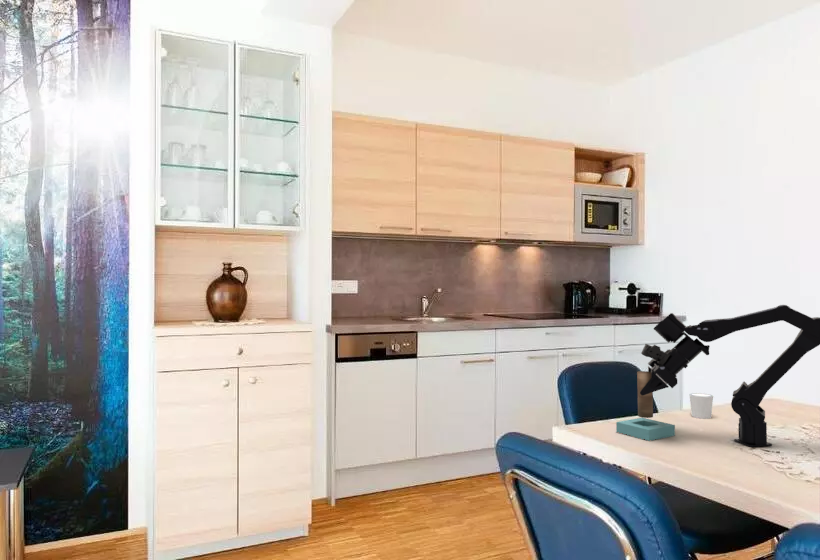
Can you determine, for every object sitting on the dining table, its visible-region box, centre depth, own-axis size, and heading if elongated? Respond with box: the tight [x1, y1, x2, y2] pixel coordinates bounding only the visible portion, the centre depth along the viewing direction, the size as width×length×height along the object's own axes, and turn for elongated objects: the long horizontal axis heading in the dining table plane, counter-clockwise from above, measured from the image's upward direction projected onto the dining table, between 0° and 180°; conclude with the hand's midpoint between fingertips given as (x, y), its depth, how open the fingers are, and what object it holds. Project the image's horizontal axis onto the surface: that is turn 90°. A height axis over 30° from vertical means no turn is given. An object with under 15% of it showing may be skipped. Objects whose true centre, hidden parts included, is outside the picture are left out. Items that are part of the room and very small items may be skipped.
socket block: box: [615, 417, 676, 442], centre depth 170 cm, size 11×11×3 cm
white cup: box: [689, 392, 714, 419], centre depth 192 cm, size 7×7×7 cm
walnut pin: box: [636, 370, 654, 419], centre depth 170 cm, size 4×4×12 cm
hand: (640, 392), depth 171 cm, fingers closed on walnut pin, 4 cm apart
